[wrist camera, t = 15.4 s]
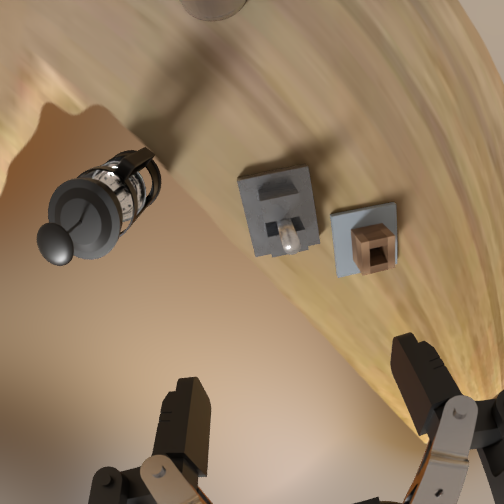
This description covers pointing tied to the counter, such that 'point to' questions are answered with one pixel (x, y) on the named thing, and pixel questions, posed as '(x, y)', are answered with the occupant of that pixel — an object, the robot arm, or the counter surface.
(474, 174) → the counter surface
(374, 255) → the collar
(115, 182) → the french press
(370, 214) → the mat
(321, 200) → the counter surface
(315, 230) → the grey block-shaped fixture
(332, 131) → the counter surface
